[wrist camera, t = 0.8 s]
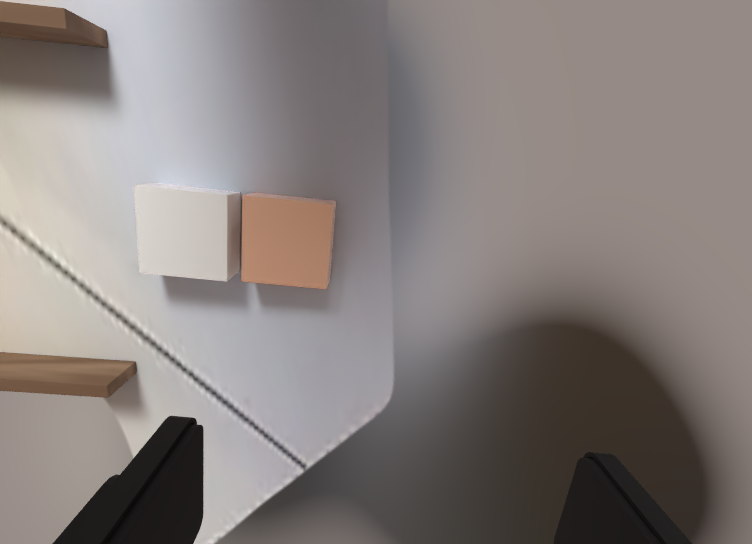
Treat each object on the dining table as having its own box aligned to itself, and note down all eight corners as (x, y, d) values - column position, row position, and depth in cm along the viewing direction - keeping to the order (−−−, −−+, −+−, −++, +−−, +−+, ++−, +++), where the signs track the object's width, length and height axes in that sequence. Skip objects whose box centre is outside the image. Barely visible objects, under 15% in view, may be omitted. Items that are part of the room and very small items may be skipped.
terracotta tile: (255, 192, 28) (242, 194, 25) (336, 200, 28) (333, 204, 25) (253, 270, 29) (241, 281, 26) (330, 277, 29) (326, 289, 27)
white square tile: (158, 183, 27) (133, 184, 24) (241, 192, 27) (227, 195, 25) (161, 262, 29) (139, 273, 26) (240, 270, 29) (226, 281, 26)
